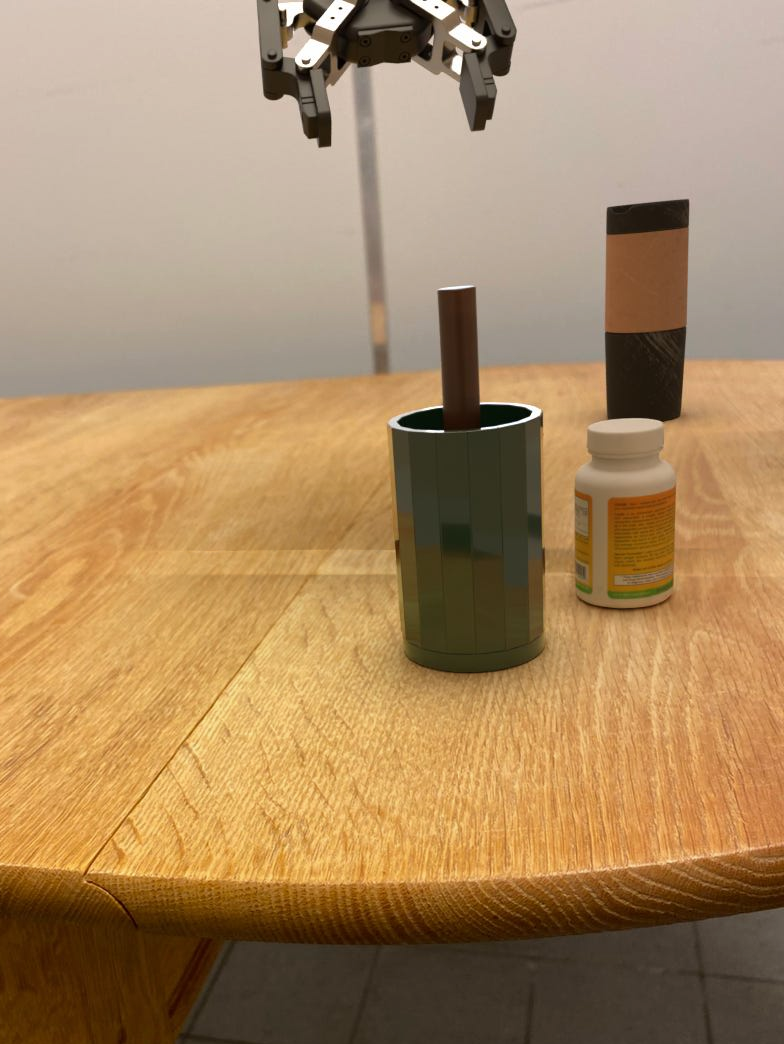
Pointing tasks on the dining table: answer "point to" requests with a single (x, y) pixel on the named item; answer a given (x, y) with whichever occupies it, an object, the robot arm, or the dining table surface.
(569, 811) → the dining table surface
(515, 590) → the cup
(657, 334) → the travel mug
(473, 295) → the peg on round base
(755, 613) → the dining table surface
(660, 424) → the supplement bottle
